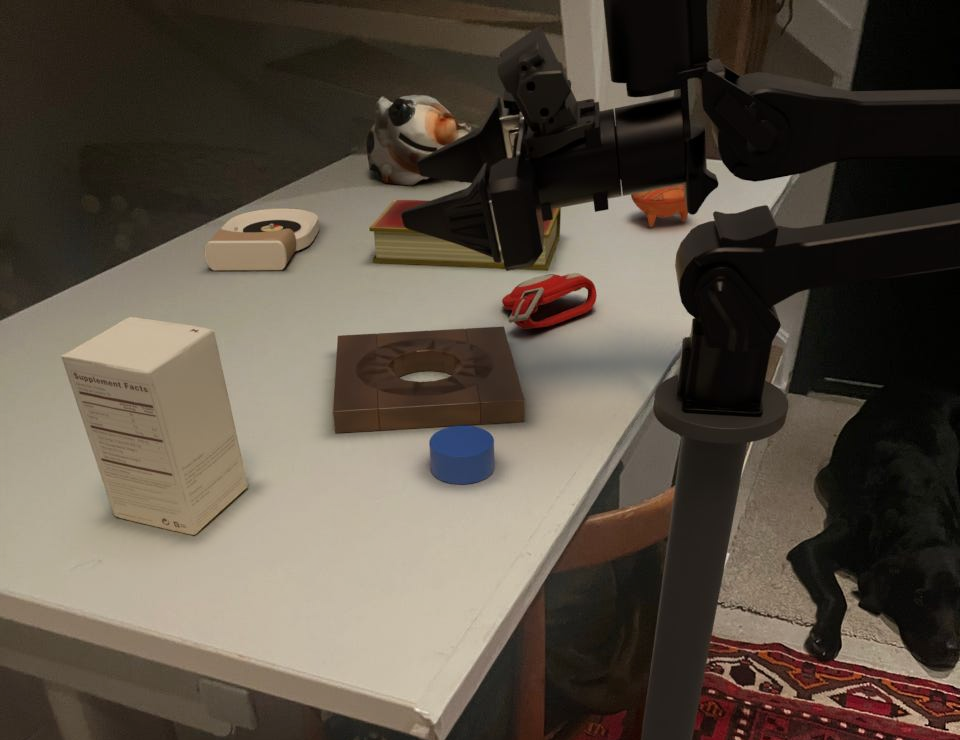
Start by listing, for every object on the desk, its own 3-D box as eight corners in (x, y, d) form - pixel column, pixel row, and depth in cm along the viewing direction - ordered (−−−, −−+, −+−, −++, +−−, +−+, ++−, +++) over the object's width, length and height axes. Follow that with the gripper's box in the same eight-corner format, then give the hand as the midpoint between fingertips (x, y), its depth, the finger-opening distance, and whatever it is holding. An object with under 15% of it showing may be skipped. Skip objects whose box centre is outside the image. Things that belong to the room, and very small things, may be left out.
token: (498, 454, 74) (498, 427, 73) (488, 486, 71) (488, 458, 69) (438, 450, 75) (436, 423, 74) (424, 482, 71) (423, 454, 70)
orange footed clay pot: (684, 231, 115) (678, 173, 111) (626, 238, 119) (618, 182, 115) (706, 212, 120) (700, 155, 116) (650, 219, 124) (642, 165, 120)
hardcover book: (397, 231, 119) (394, 196, 116) (559, 237, 116) (561, 201, 113) (372, 262, 110) (369, 225, 107) (547, 270, 107) (548, 231, 104)
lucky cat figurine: (467, 164, 144) (486, 80, 131) (451, 217, 139) (468, 135, 126) (374, 133, 142) (383, 45, 130) (353, 185, 137) (362, 100, 125)
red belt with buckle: (490, 287, 100) (579, 257, 99) (502, 327, 102) (589, 298, 101) (504, 301, 89) (604, 267, 89) (517, 346, 91) (614, 314, 91)
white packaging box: (172, 470, 73) (130, 313, 65) (251, 488, 71) (217, 327, 63) (110, 518, 68) (56, 353, 60) (193, 538, 66) (149, 370, 58)
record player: (193, 243, 107) (236, 196, 122) (198, 270, 109) (240, 221, 124) (292, 242, 106) (323, 195, 122) (296, 270, 108) (326, 220, 124)
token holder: (503, 346, 91) (503, 326, 89) (524, 421, 79) (524, 400, 77) (340, 355, 90) (337, 335, 88) (335, 433, 78) (332, 411, 76)
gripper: (603, -13, 67) (398, 34, 71) (606, 74, 55) (357, 126, 58) (619, 147, 75) (434, 183, 79) (625, 254, 63) (405, 291, 66)
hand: (410, 193), depth 70 cm, fingers open, 9 cm apart
